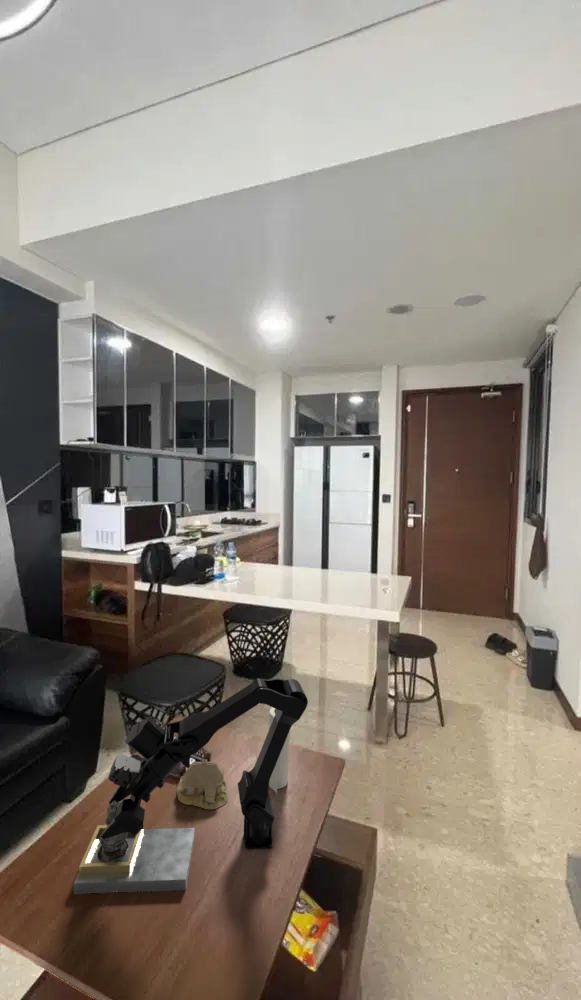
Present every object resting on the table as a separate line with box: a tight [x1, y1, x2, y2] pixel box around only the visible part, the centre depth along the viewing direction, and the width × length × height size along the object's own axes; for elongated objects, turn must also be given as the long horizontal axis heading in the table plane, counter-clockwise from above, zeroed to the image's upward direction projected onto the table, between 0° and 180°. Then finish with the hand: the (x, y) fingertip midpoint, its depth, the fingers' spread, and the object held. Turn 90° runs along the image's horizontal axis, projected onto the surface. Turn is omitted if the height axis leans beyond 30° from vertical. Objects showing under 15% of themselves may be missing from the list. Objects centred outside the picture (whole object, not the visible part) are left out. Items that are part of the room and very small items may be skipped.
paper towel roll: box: [268, 707, 291, 795], centre depth 122 cm, size 7×6×21 cm
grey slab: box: [73, 824, 196, 895], centre depth 96 cm, size 23×13×4 cm, turn 94°
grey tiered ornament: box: [100, 800, 128, 861], centre depth 96 cm, size 6×6×12 cm
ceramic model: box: [176, 758, 229, 810], centre depth 117 cm, size 14×11×10 cm
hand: (106, 820), depth 96 cm, fingers open, 9 cm apart
